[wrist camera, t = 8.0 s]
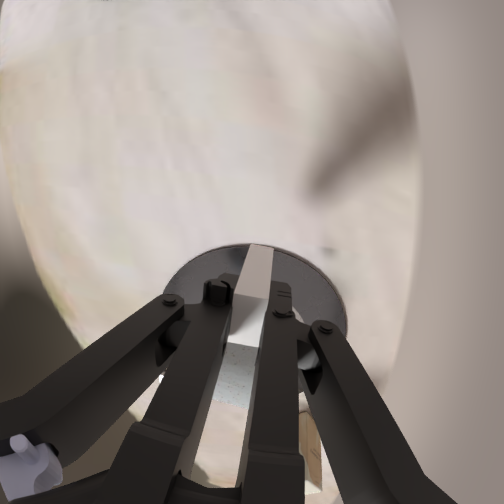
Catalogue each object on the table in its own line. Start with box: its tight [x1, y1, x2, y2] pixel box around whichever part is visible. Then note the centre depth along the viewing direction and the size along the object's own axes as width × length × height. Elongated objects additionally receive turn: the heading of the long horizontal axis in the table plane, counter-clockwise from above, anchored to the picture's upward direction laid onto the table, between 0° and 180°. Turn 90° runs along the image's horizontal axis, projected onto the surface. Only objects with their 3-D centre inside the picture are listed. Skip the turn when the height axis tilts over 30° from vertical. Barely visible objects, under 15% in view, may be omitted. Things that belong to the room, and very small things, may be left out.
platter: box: [163, 246, 346, 393], centre depth 27 cm, size 20×20×1 cm
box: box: [299, 412, 322, 495], centre depth 26 cm, size 5×4×11 cm
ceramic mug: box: [212, 339, 258, 409], centre depth 24 cm, size 11×8×8 cm
